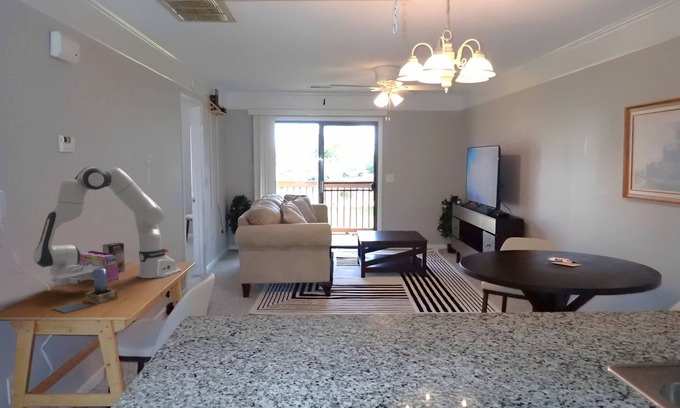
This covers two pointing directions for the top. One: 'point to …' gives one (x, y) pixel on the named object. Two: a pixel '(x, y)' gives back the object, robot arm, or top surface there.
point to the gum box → (101, 263)
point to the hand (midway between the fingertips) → (88, 278)
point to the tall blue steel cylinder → (100, 281)
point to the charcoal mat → (71, 307)
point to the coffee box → (116, 249)
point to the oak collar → (101, 296)
